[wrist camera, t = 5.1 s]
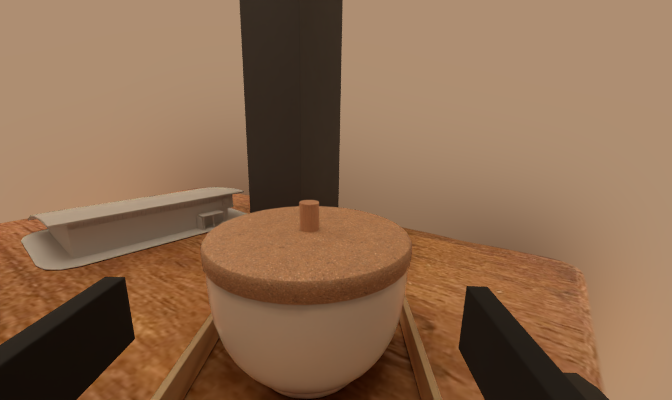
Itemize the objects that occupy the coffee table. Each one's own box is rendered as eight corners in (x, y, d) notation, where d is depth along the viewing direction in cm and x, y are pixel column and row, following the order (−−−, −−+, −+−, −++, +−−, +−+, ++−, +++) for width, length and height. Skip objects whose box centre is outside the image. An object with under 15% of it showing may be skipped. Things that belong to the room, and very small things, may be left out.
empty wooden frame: (398, 299, 24) (399, 278, 24) (452, 476, 12) (457, 441, 12) (239, 294, 25) (238, 274, 24) (136, 464, 12) (129, 428, 12)
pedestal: (338, 225, 42) (344, -96, 33) (301, 243, 35) (297, -151, 26) (291, 215, 46) (286, -73, 37) (251, 230, 39) (233, -117, 30)
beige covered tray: (259, 218, 44) (258, 191, 43) (42, 276, 27) (32, 233, 26) (204, 200, 54) (202, 177, 53) (17, 234, 36) (9, 202, 35)
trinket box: (170, 375, 17) (148, 208, 14) (296, 289, 26) (295, 176, 23) (339, 503, 11) (345, 266, 9) (426, 337, 20) (440, 196, 18)
